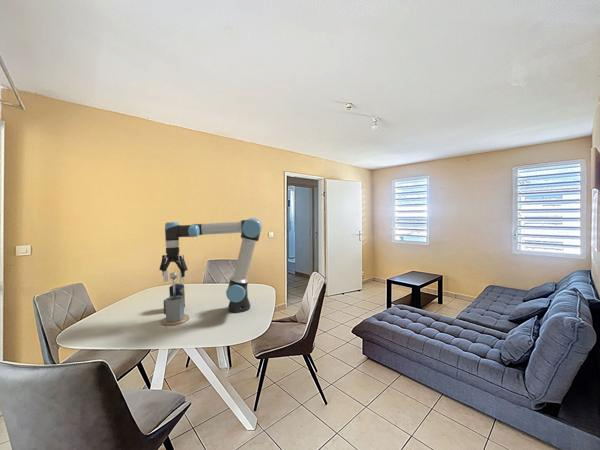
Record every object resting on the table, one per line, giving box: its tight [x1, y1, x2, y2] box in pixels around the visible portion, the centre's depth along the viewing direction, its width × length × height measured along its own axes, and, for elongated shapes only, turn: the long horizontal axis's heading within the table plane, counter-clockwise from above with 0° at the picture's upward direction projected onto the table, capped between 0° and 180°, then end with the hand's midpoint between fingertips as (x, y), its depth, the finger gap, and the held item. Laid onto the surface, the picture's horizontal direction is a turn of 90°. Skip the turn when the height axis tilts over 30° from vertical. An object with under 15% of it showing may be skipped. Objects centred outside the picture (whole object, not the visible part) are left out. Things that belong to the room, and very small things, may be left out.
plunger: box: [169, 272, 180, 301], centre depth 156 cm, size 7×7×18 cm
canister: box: [169, 283, 186, 308], centre depth 176 cm, size 10×10×18 cm
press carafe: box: [160, 296, 190, 327], centre depth 157 cm, size 16×16×14 cm
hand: (173, 281), depth 156 cm, fingers open, 11 cm apart
